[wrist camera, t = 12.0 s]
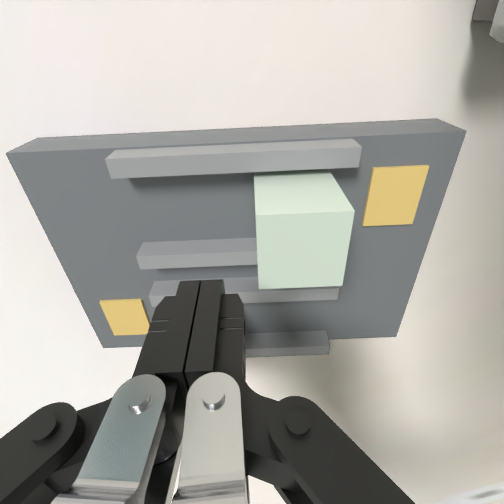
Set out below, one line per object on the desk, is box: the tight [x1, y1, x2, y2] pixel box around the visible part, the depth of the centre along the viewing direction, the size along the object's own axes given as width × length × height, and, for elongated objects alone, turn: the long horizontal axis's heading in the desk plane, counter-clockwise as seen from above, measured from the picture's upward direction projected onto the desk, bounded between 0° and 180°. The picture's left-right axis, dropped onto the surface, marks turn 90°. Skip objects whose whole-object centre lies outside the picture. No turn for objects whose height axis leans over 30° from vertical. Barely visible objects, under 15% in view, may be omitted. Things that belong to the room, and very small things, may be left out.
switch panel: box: [6, 119, 466, 357], centre depth 21 cm, size 16×24×4 cm, turn 92°
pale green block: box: [254, 169, 355, 289], centre depth 16 cm, size 4×4×5 cm
